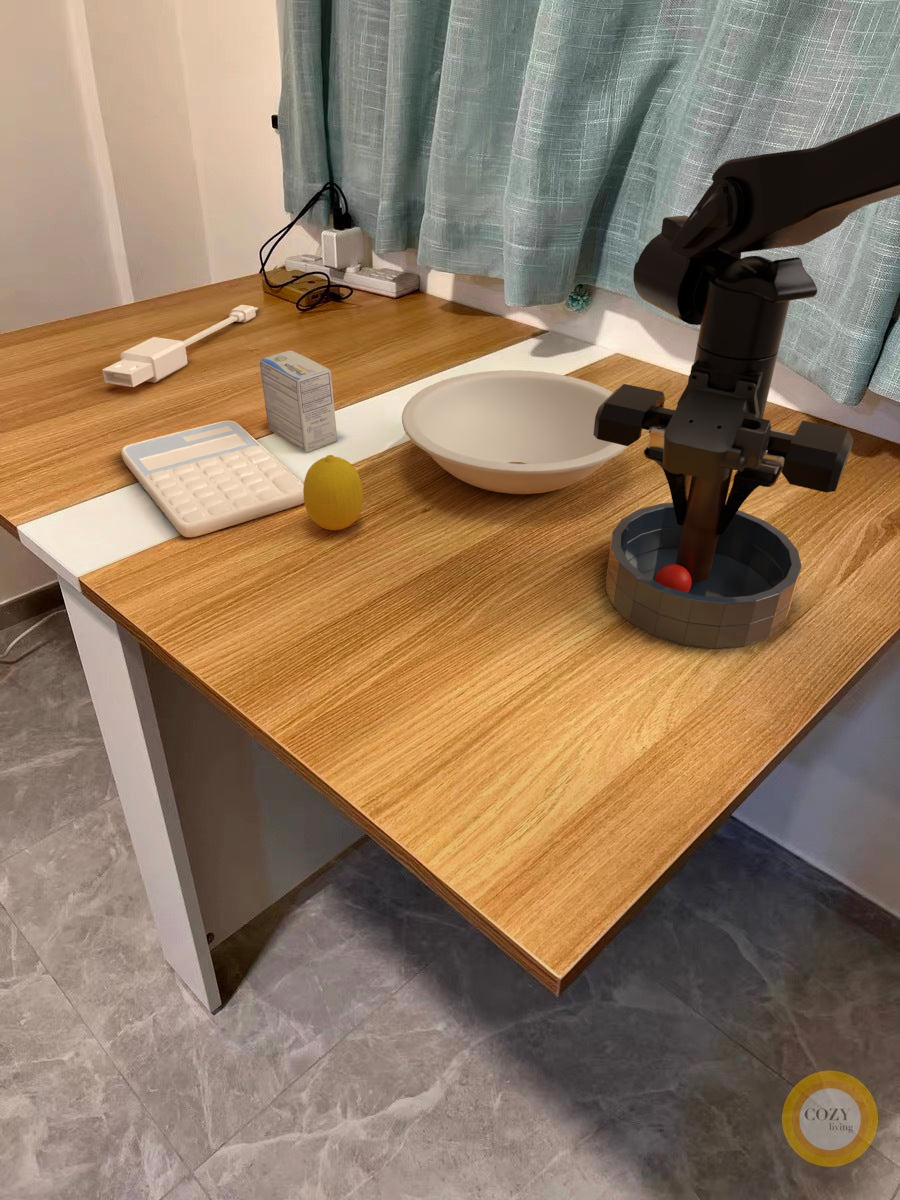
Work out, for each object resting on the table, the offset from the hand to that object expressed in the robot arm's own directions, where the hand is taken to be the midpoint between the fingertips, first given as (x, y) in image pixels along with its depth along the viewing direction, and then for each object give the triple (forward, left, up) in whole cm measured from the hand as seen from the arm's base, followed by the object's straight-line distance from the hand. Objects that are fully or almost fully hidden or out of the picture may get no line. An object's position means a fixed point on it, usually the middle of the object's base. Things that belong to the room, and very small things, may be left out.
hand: (700, 528), depth 74 cm
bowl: (-1, +1, -6) cm, 6 cm away
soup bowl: (+22, -12, -6) cm, 26 cm away
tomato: (+1, +3, -4) cm, 5 cm away
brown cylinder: (0, 0, -4) cm, 4 cm away
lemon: (+32, +7, -6) cm, 34 cm away
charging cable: (+76, -22, -6) cm, 79 cm away
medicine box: (+47, -8, -6) cm, 48 cm away
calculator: (+49, +5, -6) cm, 50 cm away
